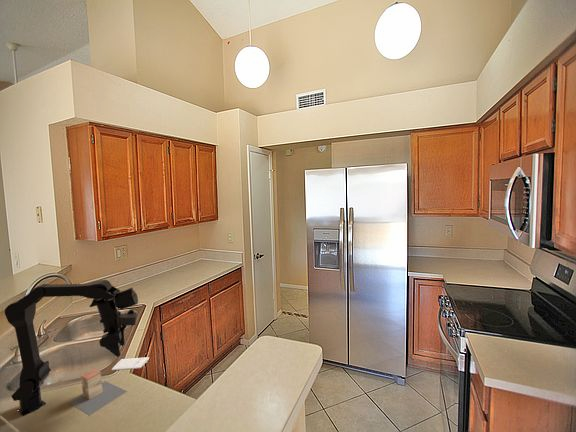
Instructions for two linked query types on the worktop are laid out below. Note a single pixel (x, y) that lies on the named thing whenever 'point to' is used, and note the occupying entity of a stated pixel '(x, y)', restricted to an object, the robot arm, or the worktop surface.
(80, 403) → the mat
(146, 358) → the external hard drive
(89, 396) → the block
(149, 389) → the worktop surface
